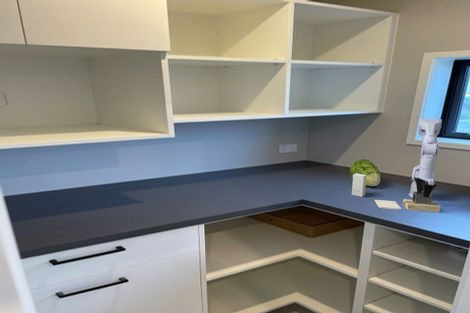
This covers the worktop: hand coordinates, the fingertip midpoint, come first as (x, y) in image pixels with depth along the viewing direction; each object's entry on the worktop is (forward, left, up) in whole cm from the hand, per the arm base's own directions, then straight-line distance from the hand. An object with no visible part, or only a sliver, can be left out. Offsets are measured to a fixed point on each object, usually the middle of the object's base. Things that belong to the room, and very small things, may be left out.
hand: (422, 194), depth 142 cm
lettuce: (-35, -19, -8) cm, 41 cm away
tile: (-1, -15, -7) cm, 17 cm away
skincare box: (-13, -27, -8) cm, 31 cm away
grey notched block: (0, 0, -4) cm, 4 cm away
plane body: (0, 0, -7) cm, 7 cm away
